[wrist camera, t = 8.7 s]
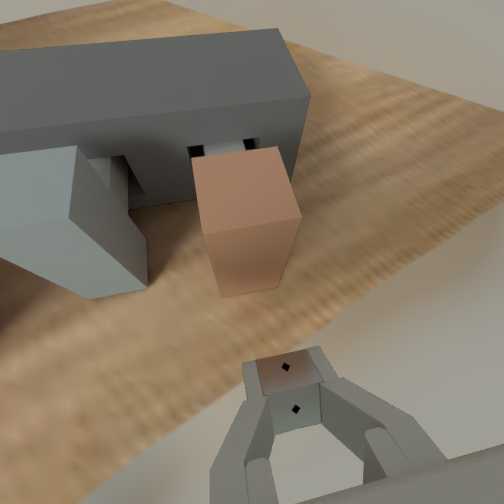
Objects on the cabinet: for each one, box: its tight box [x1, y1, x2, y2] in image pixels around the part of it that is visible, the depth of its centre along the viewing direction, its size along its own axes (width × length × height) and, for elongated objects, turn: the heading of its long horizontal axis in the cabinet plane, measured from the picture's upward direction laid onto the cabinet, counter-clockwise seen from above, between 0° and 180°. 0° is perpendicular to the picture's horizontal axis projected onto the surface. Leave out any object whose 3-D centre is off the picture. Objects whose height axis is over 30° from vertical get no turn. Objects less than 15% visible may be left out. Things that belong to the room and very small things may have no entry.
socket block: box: [0, 28, 311, 210], centre depth 20 cm, size 20×8×8 cm, turn 102°
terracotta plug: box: [191, 139, 302, 298], centre depth 16 cm, size 4×10×9 cm, turn 12°
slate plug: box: [0, 145, 148, 300], centre depth 16 cm, size 4×10×9 cm, turn 12°
